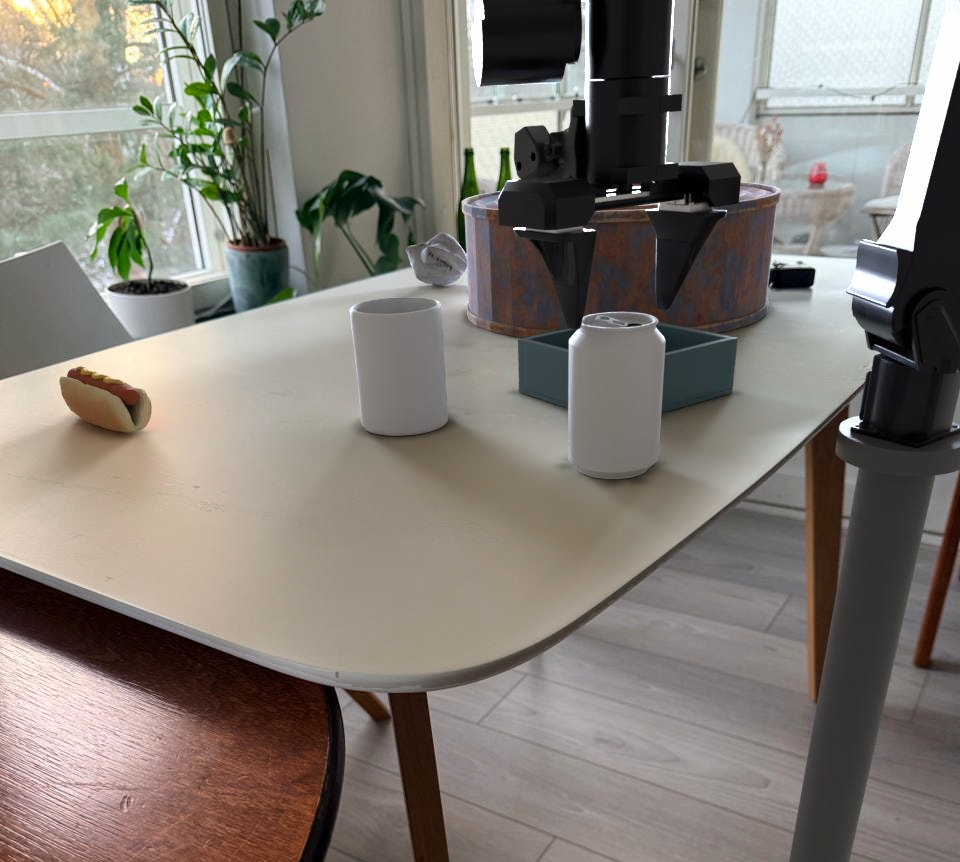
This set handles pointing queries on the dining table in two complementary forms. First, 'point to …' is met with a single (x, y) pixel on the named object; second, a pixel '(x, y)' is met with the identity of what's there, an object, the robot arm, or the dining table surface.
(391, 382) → the mug
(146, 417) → the food
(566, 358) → the box
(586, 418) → the can
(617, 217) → the container
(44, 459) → the dining table surface
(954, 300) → the robot arm
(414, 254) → the crumpled paper ball
